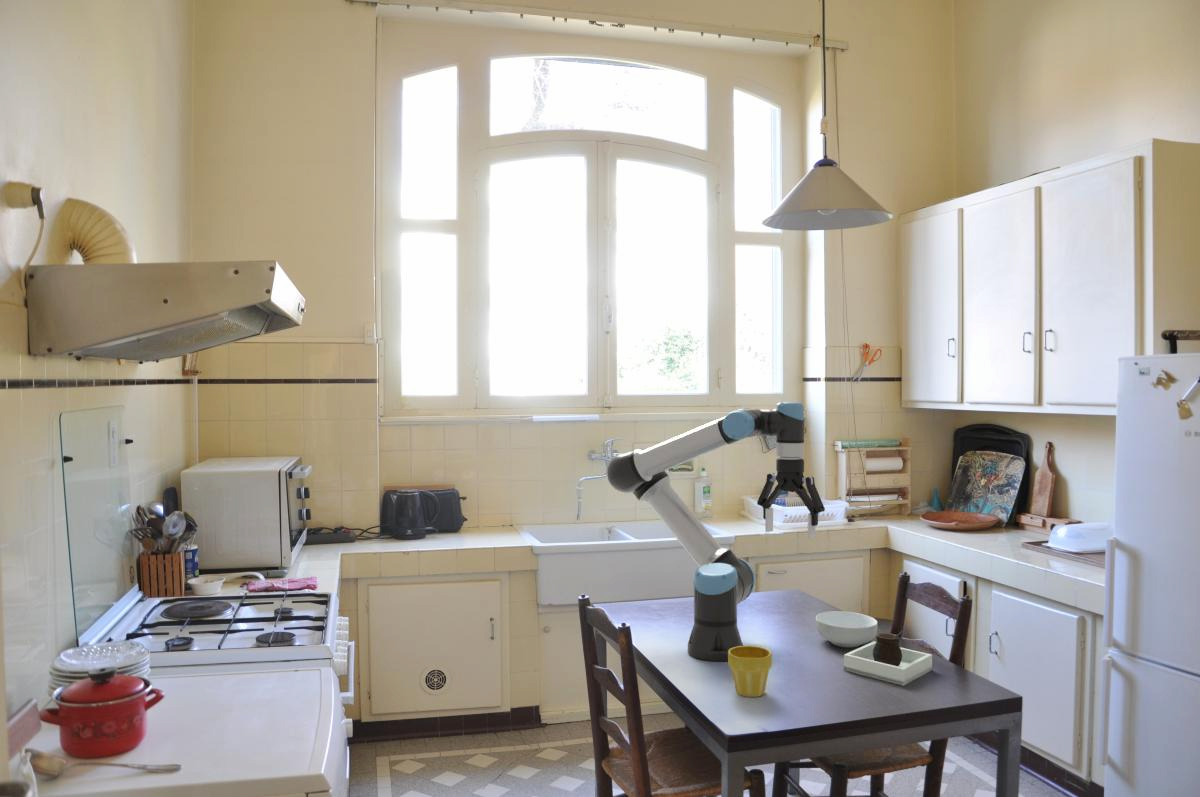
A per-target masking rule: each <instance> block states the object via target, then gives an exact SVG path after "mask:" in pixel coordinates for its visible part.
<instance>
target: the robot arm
mask: <svg viewBox="0 0 1200 797" xmlns="http://www.w3.org/2000/svg"><path fill="white" fill-rule="evenodd" d="M804 409H805V407H804V405H803V403H802V402H794V401H793V402H791V401H789V402H785V401H784V402H782V401H781V402H778V403H776V407H775V408H772V409H769V408H768V409H765V408H749V407H748V408H741V409H740V408H739V409H736V410H733V411H731V412H729V413H728V414H727V415H725V416H722V417H720V418H717V419H715V420H712V421H711V422H708V423H705V424H704V425H701V426H698V427H696V428H693V429H690V430H689V431H687V432H685V433H682V434H680V435H677V436H674V437H671V438H670V439H668V440H665V441H662V442H660V443H658V444H656V445H653V446H651V447H648V448H646V449H639V448H637V449H635V450H633V451H629V452H625V453H620V454H618V455H616V456H615V457H613V458H612V459H611V460H610V461H609V464H608V466H607V470H606V475H607V480H608V483H610V485H611V486H612V487H613V488H614V489H615V490H617V491H618V492H621V493H625V494H627V493H632V495H634V496H635V498H636V499H637V500H638V501H639V502H640V503H645V504H648V506H649V507H650V508H651V509H652V510H653V511H654V514H656V515H657V516H658V518H659V519H660V520H661V521H662V523H664V525H665V527H667V528H668V530H669V531H670V533H672V535H673V536H674V537H675V539H676V540H677V541H678V542H679V543H680V545H681V547H683V549H684V550H685V551H686V552H687V553H688V554H689V555H690V556H691V558H692V560H694V562H695V563H696V564H697V566H698V567H697V568H696V569H695V571H694V578H693V582H692V583H693V613H694V614H693V616H694V618H693V627H692V630H691V632H690V635H689V639H688V642H687V653H688V655H690V656H691V657H693V658H695V659H699V660H703V661H710V662H727V661H728V651H729V649H731V648H733V647H737V646H744V644H743V642H742V638H741V635H740V631H739V630H740V629H739V627H738V605H739V604H740V603H742V602H744V601H745V600H746V599H747V598H748V597H750V595H751V594H752V593H753V591H754V588H755V586H756V580H757V579H756V574H755V571H754V569H753V567H752V566H751V565H750V563H749V562H747V561H746V560H744V559H743V558H739V557H737V556H736V555H735V553H734V551H732V550H731V549H730V548H729V547H727V548H726V547H722V546H721V545H720V543H719V542H718V541H717V540H716V539H715V538H714V537H713V535H712V533H710V531H709V530H708V529H707V528H706V527H705V526H704V524H703V523H702V522H701V521H700V519H699V518H698V517H697V516H696V515H695V513H694V512H693V511H692V510H691V509H690V508H689V506H688V505H687V504H686V503H685V502H684V500H683V499H682V498H681V497H680V496H679V494H678V493H677V492H676V491H675V489H674V488H673V487H672V485H671V484H670V482H671V477H670V476H669V474H668V473H667V472H666V471H667V470H670V469H672V468H675V467H677V466H680V465H681V464H684V463H686V462H689V461H692V460H694V459H697V458H699V457H701V456H704V455H706V454H709V453H711V452H714V451H716V450H718V449H721V448H723V447H726V446H728V445H731V444H733V443H736V442H738V441H741V440H744V439H746V438H752V437H776V442H775V443H776V444H775V445H776V447H775V448H776V454H775V455H776V457H778V458H777V459H776V466H775V467H776V474H775V473H774V472H773V473H772V472H771V473H768V474H767V475H766V481H765V484H764V486H763V489H762V490H761V492H760V496H759V497H758V499H757V503H756V504H757V505H758V506H760V507H762V509H763V510H762V513H763V515H762V516H763V520H765V521H764V522H765V524H764V525H765V531H764V532H766V533H769V532H774V507H772V505H773V504H774V503H775V501H777V499H778V498H779V497H780V495H781V494H782V493H783V492H790V493H795V494H796V495H798V497H799V498H800V500H801V501H802V502H803V504H804V505H805V506H806V507H805V508H807V510H808V511H809V513H807V539H813V538H816V527H817V526H818V524H819V514H820V513H822V512H823V513H824V512H825V511H826V508H825V506H824V504H823V501H822V499H821V496H820V494H819V491H818V489H817V487H816V485H815V484H816V483H815V477H813V476H808V477H805V476H804V472H805V460H804V457H805V421H806V420H805V419H806V418H805V410H804ZM775 482H777V483H778V484H777V485H776V486H775V487H774V484H775ZM804 485H805V486H804ZM773 487H774V490H773V491H772V489H773ZM771 491H772V492H771ZM807 491H808V492H807Z"/></svg>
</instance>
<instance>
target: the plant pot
mask: <svg viewBox="0 0 1200 797" xmlns="http://www.w3.org/2000/svg"><path fill="white" fill-rule="evenodd" d="M772 655H773V654H772V652H771V651H770V650H769V649H768V648H765V647H762V646H758V645H757V646H756V645H743V646H737V647H733V648H731V649H729V651H728V662H727V663H728V667H729V668H730V669H731V673H732V678H733V682H734V688H735V692H736V693H737V694H738V695H739V696H742V697H748V698H757V697H761V696H763V695H764V694H765V691H766V687H767V680H768V675H769V671H770V669H771V668H772V665H773V664H772V663H773V662H772V661H773V656H772Z"/></svg>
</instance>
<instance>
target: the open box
mask: <svg viewBox="0 0 1200 797" xmlns="http://www.w3.org/2000/svg"><path fill="white" fill-rule="evenodd" d="M875 644H876V640H875V641H874V640H873V641H870V643H869V642H868V643H866V644H864V645H862V646H861V647H860V646H859V647H857V648H855V649H853V650H851V651H849V652H847V653H845V654H843V671H846V672H849V673H854V674H857V675H860V676H865V677H867V678H868V677H869V678H872V679H875V680H880V681H883V682H888V683H892V684H895V685H900V686H901V687H902V686H903V687H904V686H906V685H908V684H909V683H911V682H913V681H915V680H917V679H919V678H920V677H922V676H925V675H926V674H928V673H930V672H932V671H933V654H931V653H926V652H923V651H918V650H913V649H908V648H905V647H900V649H901V652H902V660H901V662H900V665H899V666H898V667H897V666H893V665H889V664H885V663H881V662H877V661H874V658H873V649H874V646H875Z"/></svg>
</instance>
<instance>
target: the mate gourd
mask: <svg viewBox="0 0 1200 797" xmlns="http://www.w3.org/2000/svg"><path fill="white" fill-rule="evenodd" d="M904 631H905V629H902V630H900V632H899V633H898V634H894V633H889V632H879V633H876V635H875V637H876V640H875V642H876V644H875V646H874V649H873V658H874V661H877V662H881V663H885V664H889V665H893V666H897V667H898V666H899V665H900V662H901V660H902V652H901V649H900V644H899V643H900V636H901V635H902V633H904Z"/></svg>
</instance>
